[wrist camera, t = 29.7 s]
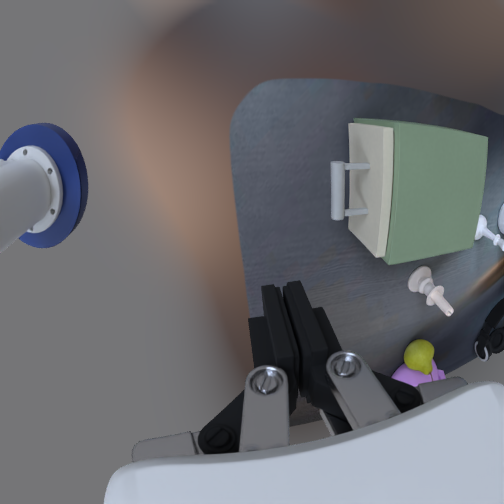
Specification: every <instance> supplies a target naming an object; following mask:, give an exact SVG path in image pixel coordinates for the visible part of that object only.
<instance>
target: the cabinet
mask: <svg viewBox="0 0 504 504" xmlns="http://www.w3.org/2000/svg"><path fill="white" fill-rule="evenodd" d="M354 123H360V124H368V125H376V126H383V127H390V128H393V131H394V179H393V196H392V208H391V219H390V228H389V236H388V240H387V246H386V253H385V256H384V257H381V258H382V259H383V260H384V261H385V262H386V263H387V264H388V265H393V264H398V263H403V262H408V261H414V260H419V259H423V258H428V257H433V256H438V255H443V254H447V253H452V252H456V251H461V250H465V249H470V248H472V247H473V243H474V239H475V234H476V230H477V225H478V220H479V215H480V210H481V204H482V198H483V191H484V183H485V174H486V164H487V148H488V137H485V136H481V135H477V134H473V133H469V132H465V131H461V130H456V129H451V128H446V127H441V126H435V125H428V124H421V123H413V122H404V121H394V120H382V119H365V118H354Z"/></svg>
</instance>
